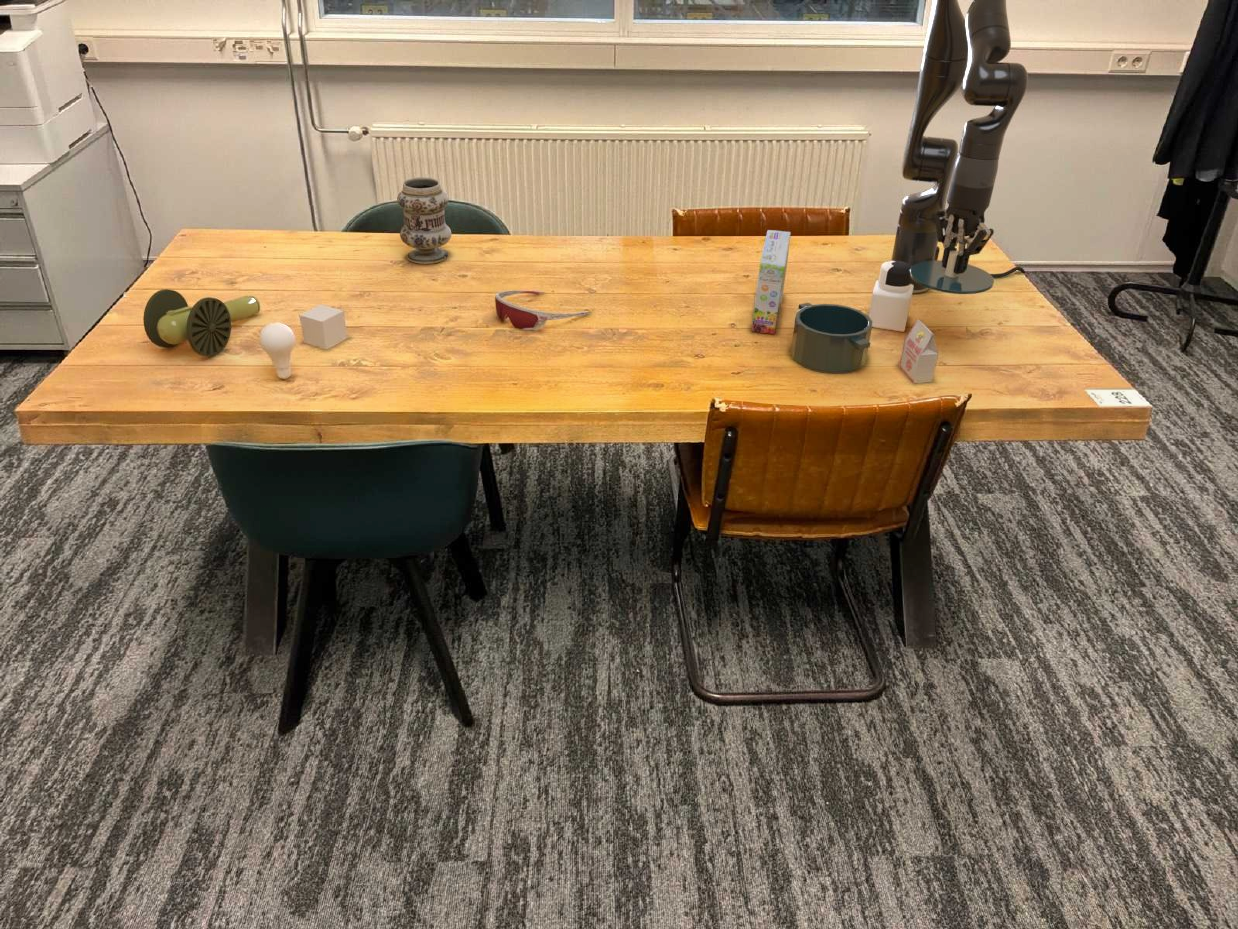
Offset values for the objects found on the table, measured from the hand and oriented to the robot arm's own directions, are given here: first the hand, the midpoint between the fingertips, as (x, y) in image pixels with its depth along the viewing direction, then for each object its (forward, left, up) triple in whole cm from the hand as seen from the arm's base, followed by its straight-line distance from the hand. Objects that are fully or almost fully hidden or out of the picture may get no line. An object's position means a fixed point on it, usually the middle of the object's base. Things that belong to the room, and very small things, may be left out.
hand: (952, 269), depth 181 cm
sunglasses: (+68, -47, -17) cm, 84 cm away
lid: (0, 0, -2) cm, 2 cm away
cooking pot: (+22, -6, -17) cm, 28 cm away
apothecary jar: (+80, -88, -17) cm, 120 cm away
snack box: (+22, -28, -17) cm, 39 cm away
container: (+1, -14, -17) cm, 22 cm away
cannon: (+131, -62, -17) cm, 146 cm away
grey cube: (+111, -52, -17) cm, 124 cm away
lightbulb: (+121, -39, -17) cm, 128 cm away
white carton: (+11, +7, -17) cm, 21 cm away
